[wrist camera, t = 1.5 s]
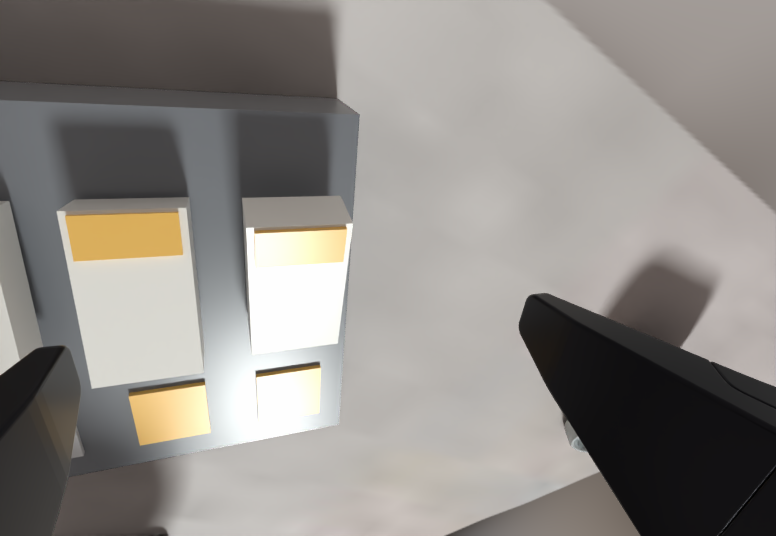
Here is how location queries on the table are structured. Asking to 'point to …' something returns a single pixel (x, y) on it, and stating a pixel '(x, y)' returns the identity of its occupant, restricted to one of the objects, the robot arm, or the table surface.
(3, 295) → the rocker
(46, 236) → the switch unit
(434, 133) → the table surface
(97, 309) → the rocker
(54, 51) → the table surface
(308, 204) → the rocker
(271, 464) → the table surface
